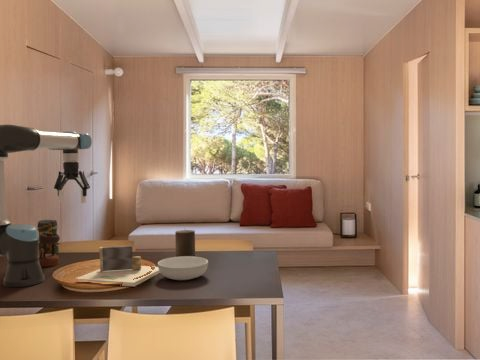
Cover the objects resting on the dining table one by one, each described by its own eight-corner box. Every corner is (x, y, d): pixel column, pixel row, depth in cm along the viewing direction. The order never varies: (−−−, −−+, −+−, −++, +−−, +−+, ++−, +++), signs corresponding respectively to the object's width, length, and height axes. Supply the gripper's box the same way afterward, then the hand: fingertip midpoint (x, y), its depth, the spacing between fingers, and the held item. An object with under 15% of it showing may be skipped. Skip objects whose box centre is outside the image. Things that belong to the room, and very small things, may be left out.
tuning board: (134, 286, 177) (134, 282, 177) (75, 282, 185) (75, 278, 185) (164, 270, 202) (164, 266, 202) (111, 267, 210) (111, 263, 210)
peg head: (141, 267, 200) (140, 244, 200) (141, 269, 196) (140, 246, 196) (101, 270, 197) (100, 246, 197) (99, 272, 193) (99, 248, 193)
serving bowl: (161, 286, 176) (160, 269, 176) (155, 274, 196) (155, 258, 196) (213, 281, 182) (213, 264, 182) (202, 269, 202) (202, 254, 202)
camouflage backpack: (61, 252, 246) (59, 218, 245) (52, 256, 238) (51, 220, 238) (44, 252, 248) (43, 218, 247) (36, 255, 240) (34, 220, 239)
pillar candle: (190, 261, 220) (189, 230, 219) (172, 259, 223) (171, 229, 222) (198, 257, 229) (198, 227, 228) (181, 256, 232) (180, 226, 232)
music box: (45, 268, 210) (44, 225, 209) (27, 267, 214) (26, 224, 213) (69, 261, 224) (68, 221, 223) (52, 260, 228) (50, 220, 227)
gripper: (95, 161, 235) (97, 202, 236) (55, 162, 242) (57, 201, 243) (87, 161, 228) (88, 203, 229) (45, 162, 235) (47, 203, 236)
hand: (72, 202), depth 236 cm, fingers open, 13 cm apart
